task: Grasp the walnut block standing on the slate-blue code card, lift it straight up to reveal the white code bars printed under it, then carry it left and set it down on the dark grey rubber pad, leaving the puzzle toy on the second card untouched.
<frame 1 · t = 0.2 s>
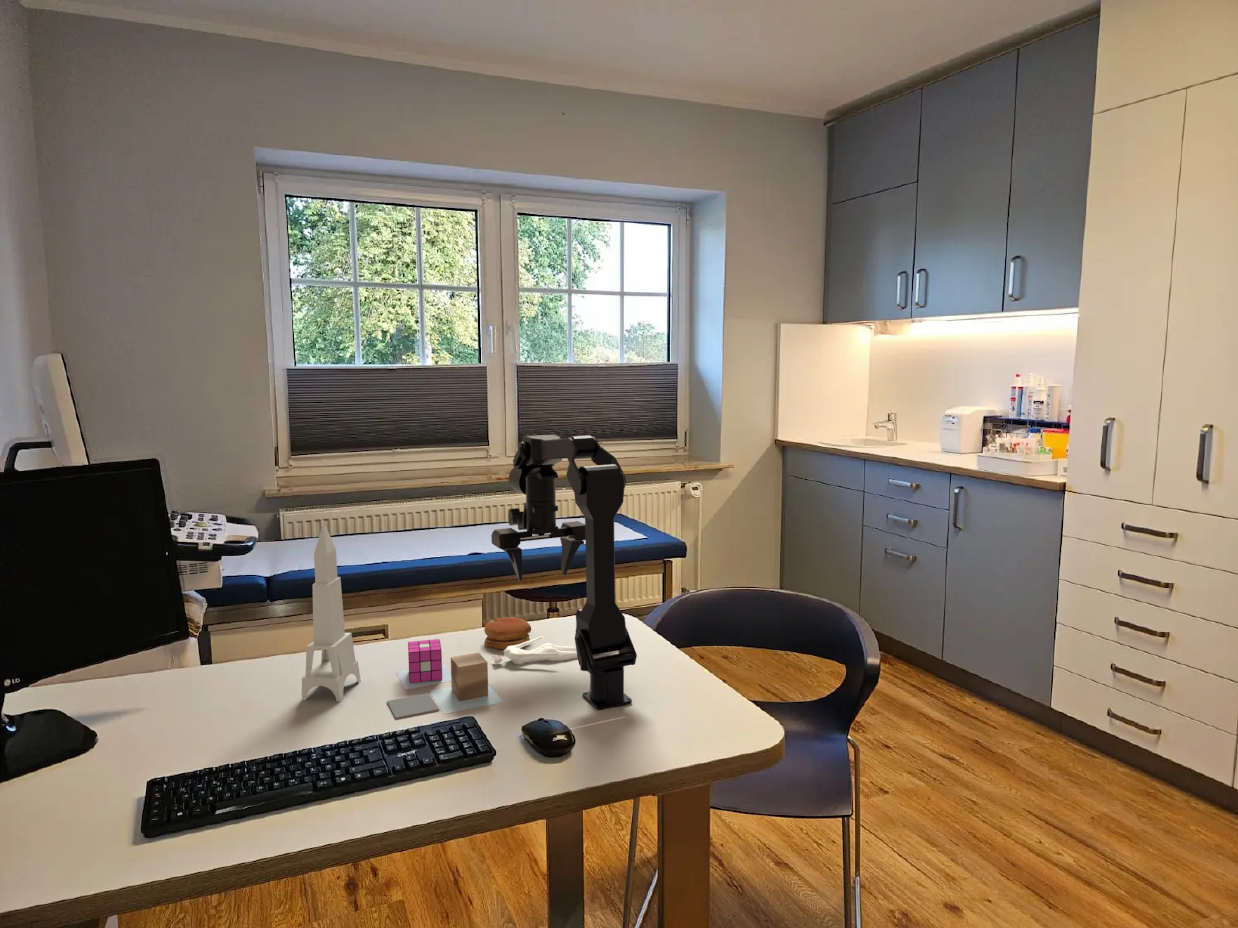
hand: (542, 577, 160), 14 cm above the table, fingers open, 9 cm apart
code card A: (465, 696, 139), on the table
code card B: (425, 676, 147), on the table
puzzle toy: (425, 676, 147), resting on code card B
sculpture: (332, 691, 141), on the table
walnut block: (469, 692, 140), resting on code card A
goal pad: (412, 707, 134), on the table
figurine: (556, 659, 157), on the table
burger: (507, 644, 165), on the table
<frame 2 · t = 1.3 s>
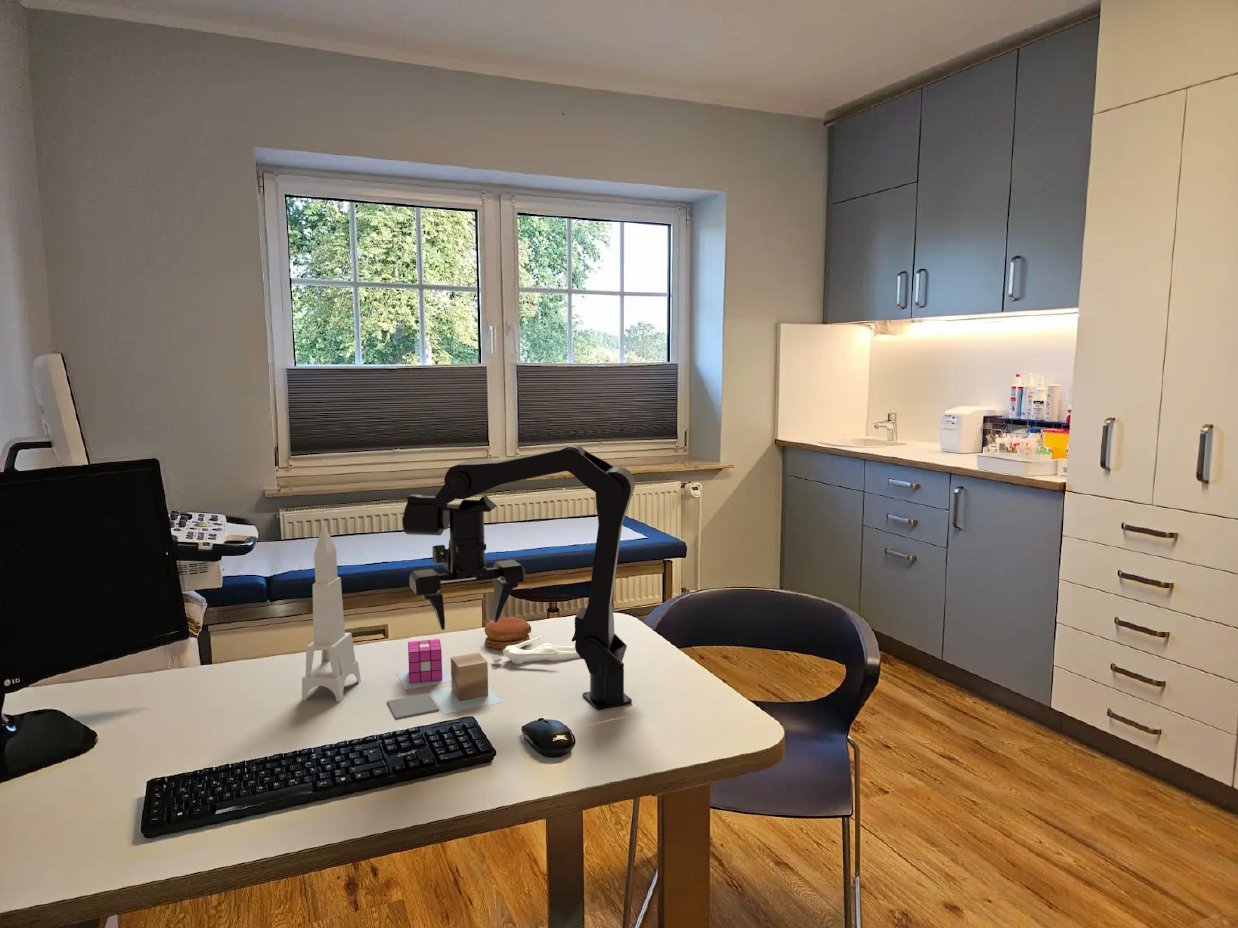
hand: (469, 625, 139), 12 cm above the table, fingers open, 9 cm apart
nothing on the table moved.
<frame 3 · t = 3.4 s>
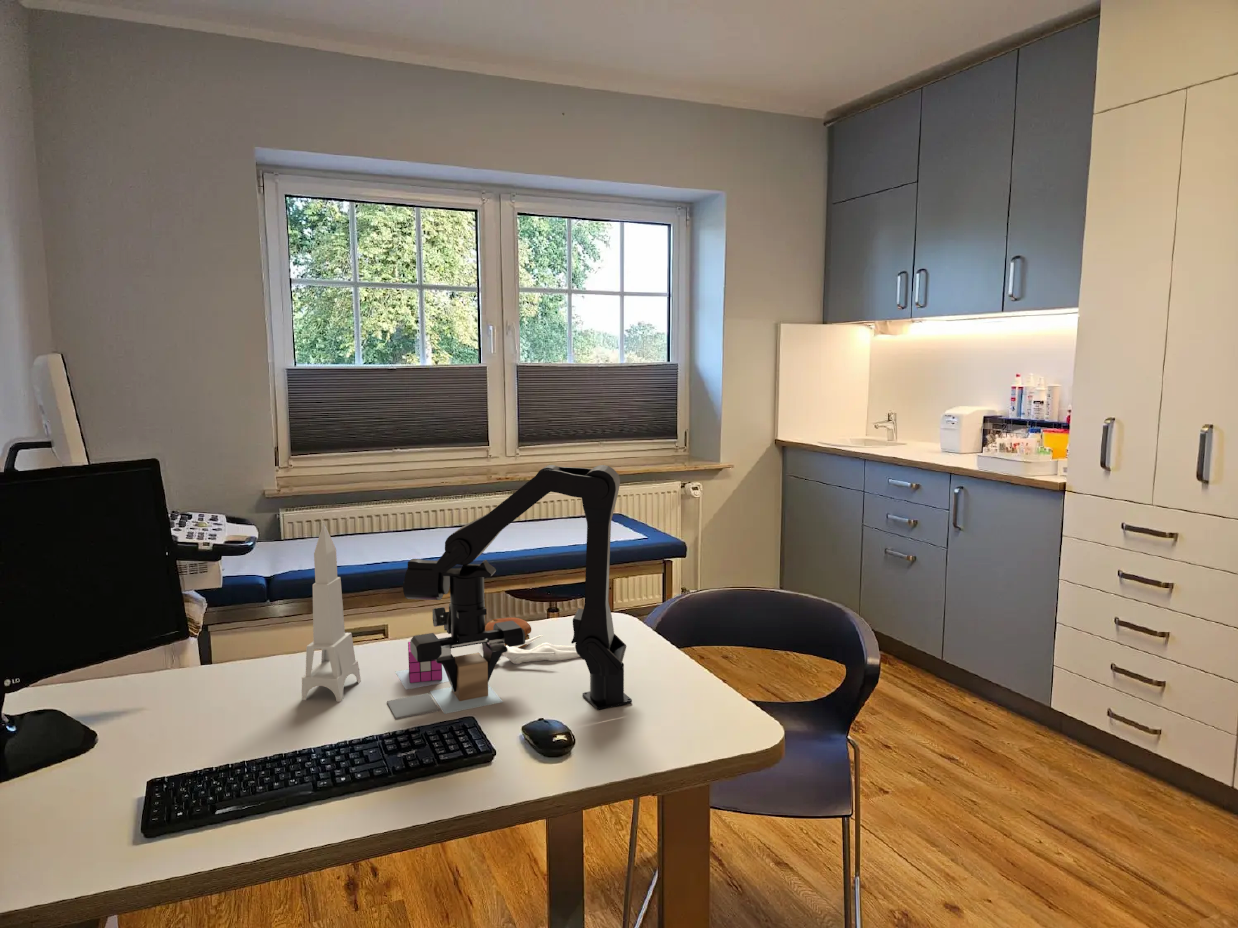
hand: (469, 687, 140), 1 cm above the table, fingers closed on walnut block, 5 cm apart
walnut block: (469, 692, 140), resting on code card A, touching gripper
everything else where it was.
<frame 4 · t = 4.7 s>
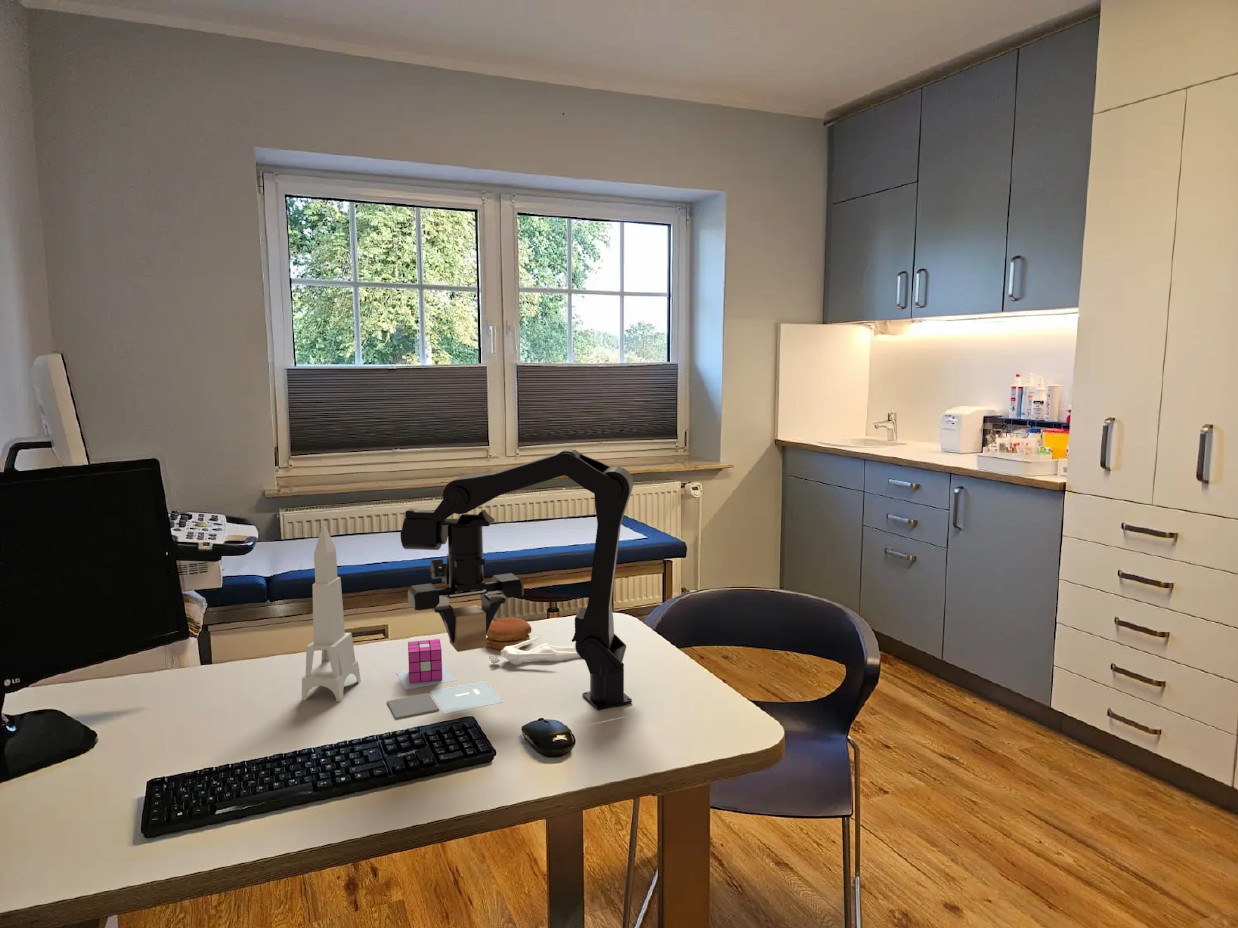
hand: (467, 639, 139), 10 cm above the table, fingers closed on walnut block, 5 cm apart
walnut block: (467, 644, 139), point 9 cm above the table, touching gripper
everything else where it was.
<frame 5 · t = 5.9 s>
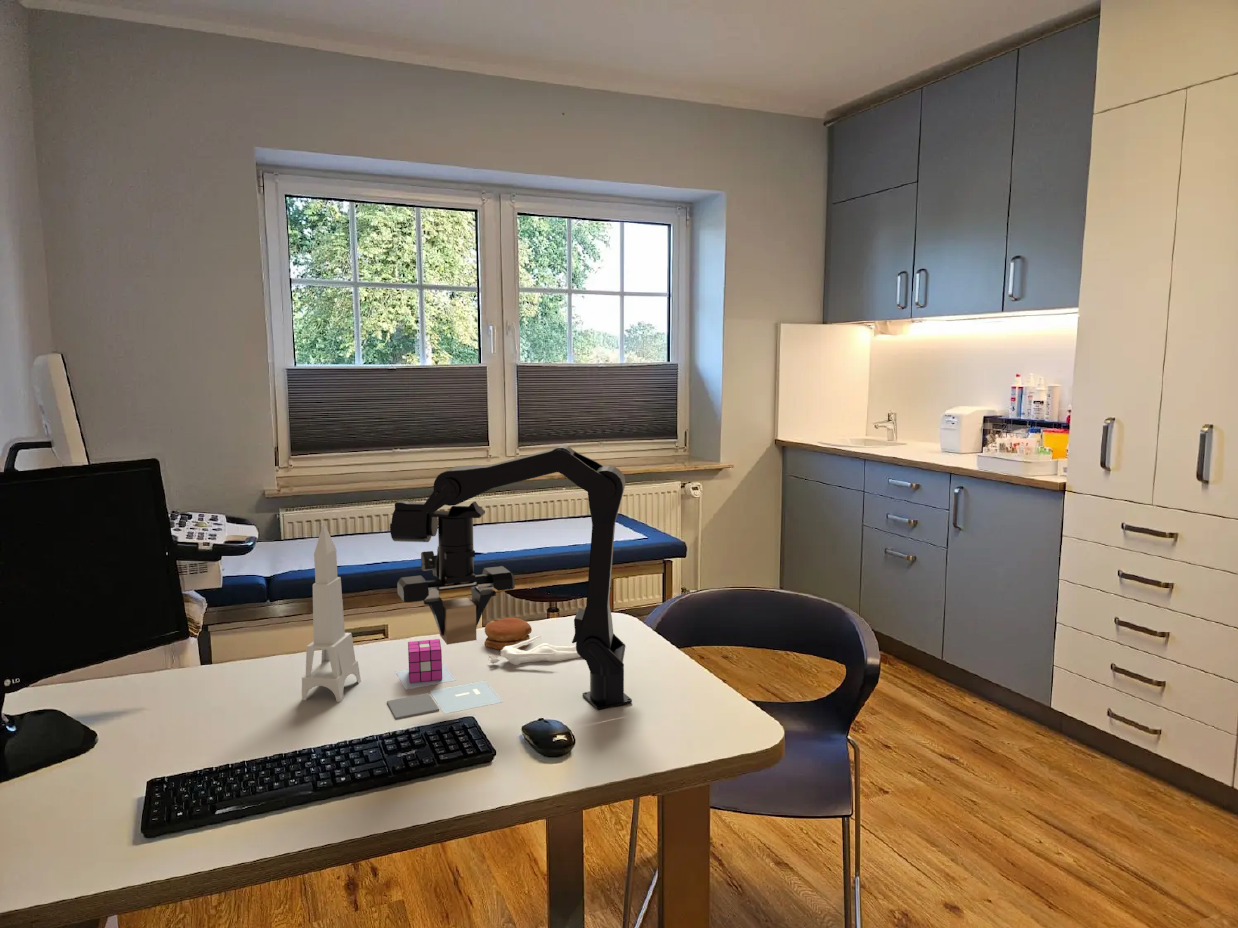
hand: (457, 632, 137), 11 cm above the table, fingers closed on walnut block, 5 cm apart
walnut block: (457, 637, 138), point 10 cm above the table, touching gripper
everything else where it was.
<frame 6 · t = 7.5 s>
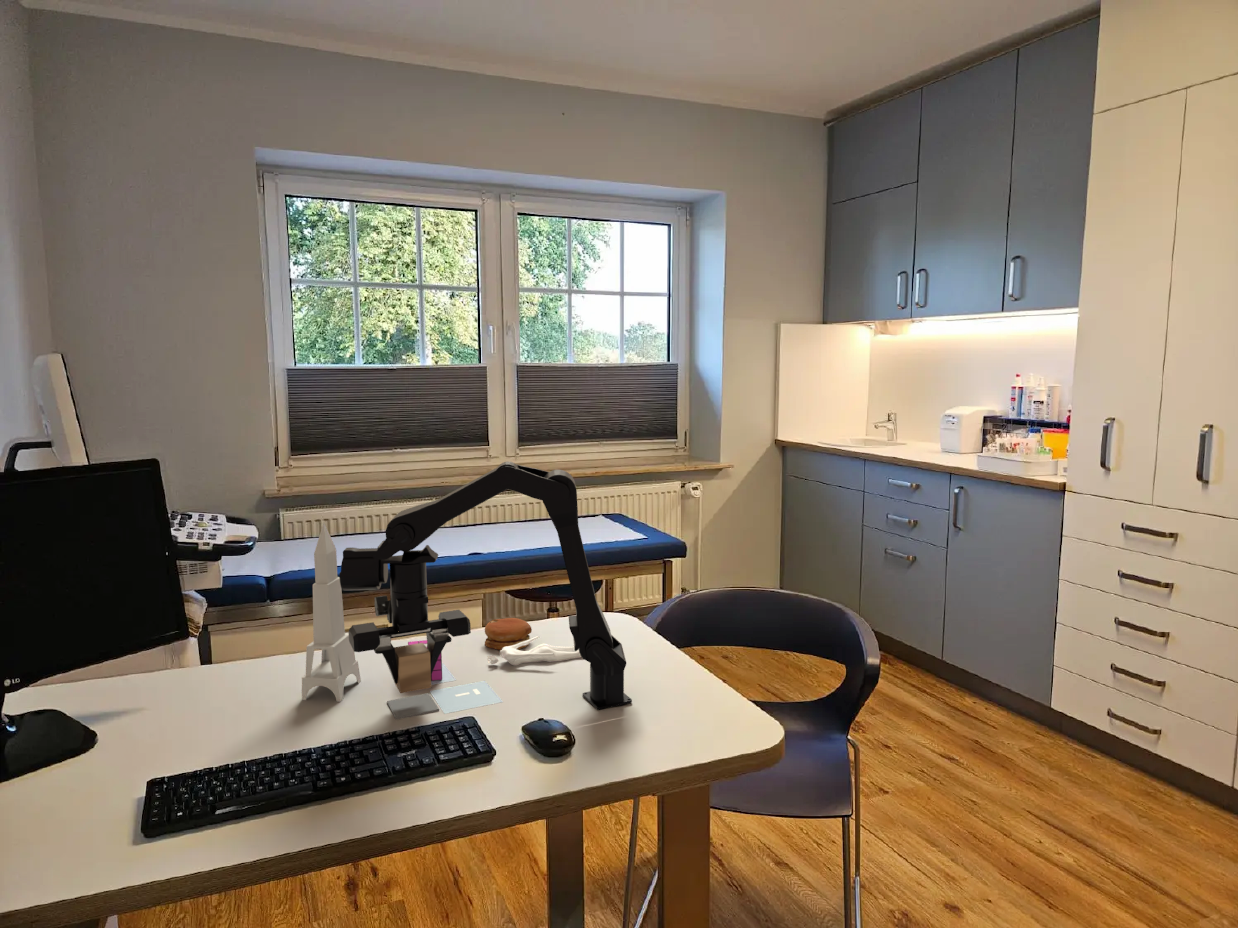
hand: (412, 679, 134), 5 cm above the table, fingers closed on walnut block, 5 cm apart
walnut block: (412, 684, 134), point 4 cm above the table, touching gripper
everything else where it was.
when the fingers open (3 cm above the table, at t = 8.7 s): walnut block drops 2 cm, resting on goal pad.
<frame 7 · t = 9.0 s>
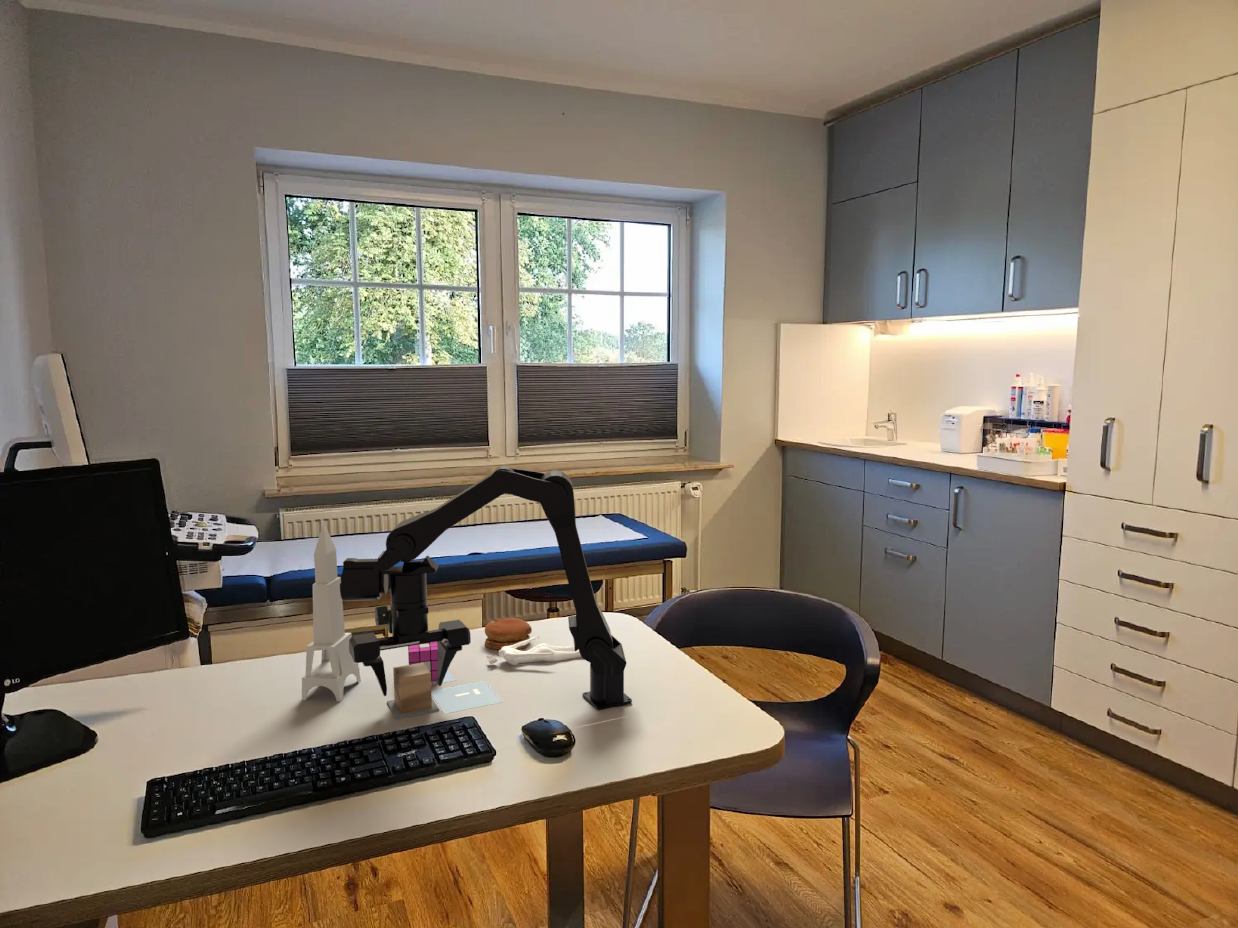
hand: (412, 689, 134), 3 cm above the table, fingers open, 9 cm apart
walnut block: (413, 704, 134), resting on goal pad
everything else where it was.
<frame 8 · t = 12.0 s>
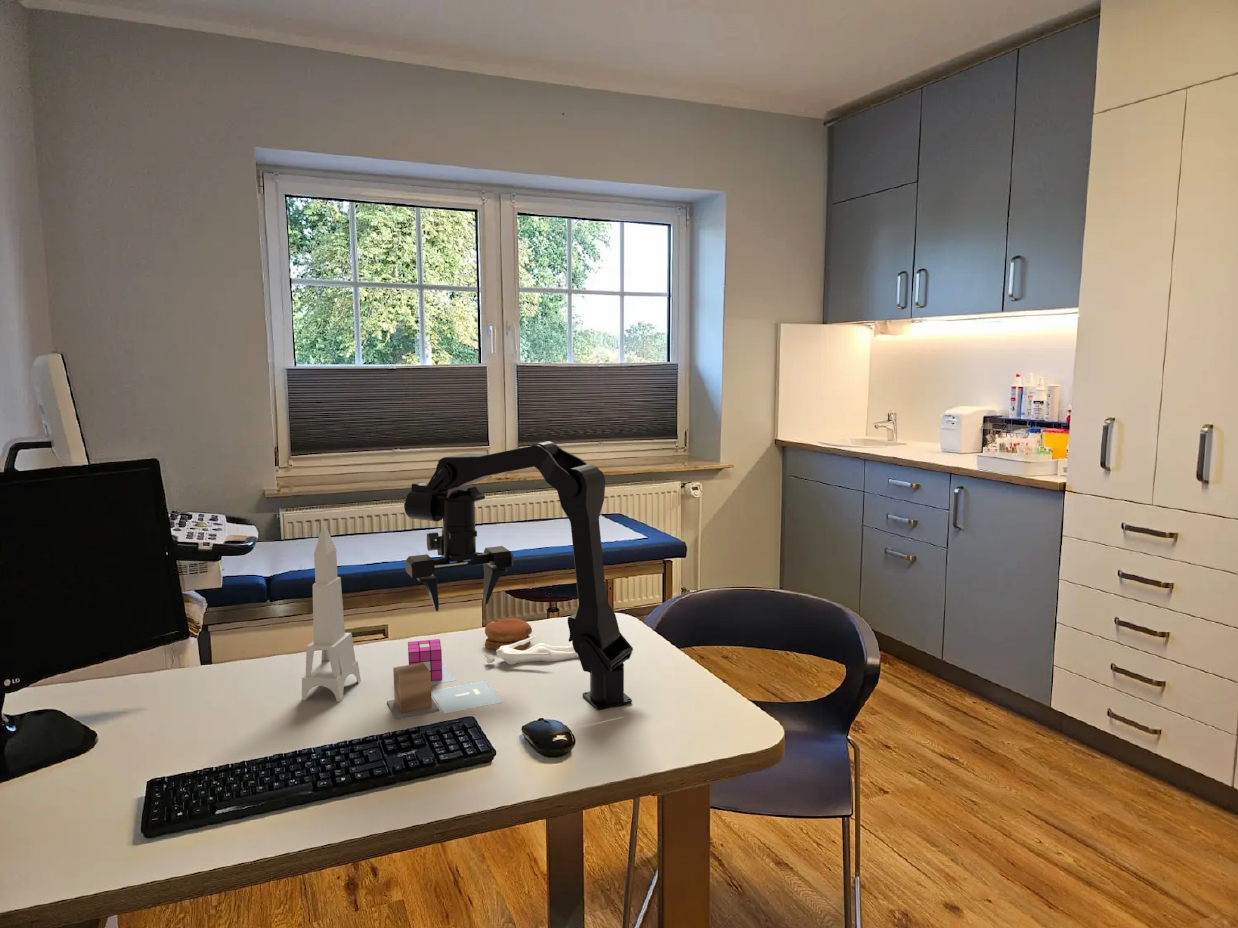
hand: (461, 607, 149), 12 cm above the table, fingers open, 9 cm apart
at the end: walnut block 0.1 cm from the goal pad (horizontally); walnut block resting on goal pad; the gripper is holding nothing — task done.
